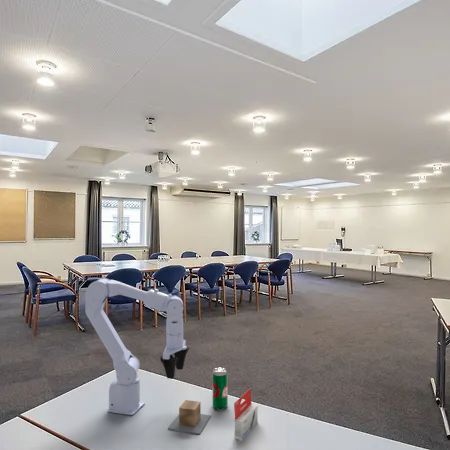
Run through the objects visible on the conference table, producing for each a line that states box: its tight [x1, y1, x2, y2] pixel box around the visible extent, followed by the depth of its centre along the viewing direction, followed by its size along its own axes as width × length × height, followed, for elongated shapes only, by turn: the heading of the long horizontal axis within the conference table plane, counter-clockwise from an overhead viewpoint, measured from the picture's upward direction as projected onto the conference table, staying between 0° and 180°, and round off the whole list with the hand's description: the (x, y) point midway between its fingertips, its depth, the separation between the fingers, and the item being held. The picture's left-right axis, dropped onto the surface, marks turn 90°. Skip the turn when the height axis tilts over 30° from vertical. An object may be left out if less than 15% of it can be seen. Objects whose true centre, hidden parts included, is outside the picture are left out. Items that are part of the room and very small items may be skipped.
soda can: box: [211, 367, 229, 410], centre depth 112 cm, size 5×5×12 cm
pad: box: [167, 413, 212, 435], centre depth 102 cm, size 10×10×1 cm
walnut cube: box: [178, 399, 202, 427], centre depth 102 cm, size 5×5×5 cm
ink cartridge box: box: [233, 388, 259, 442], centre depth 98 cm, size 2×11×10 cm, turn 151°
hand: (175, 373), depth 114 cm, fingers open, 7 cm apart
